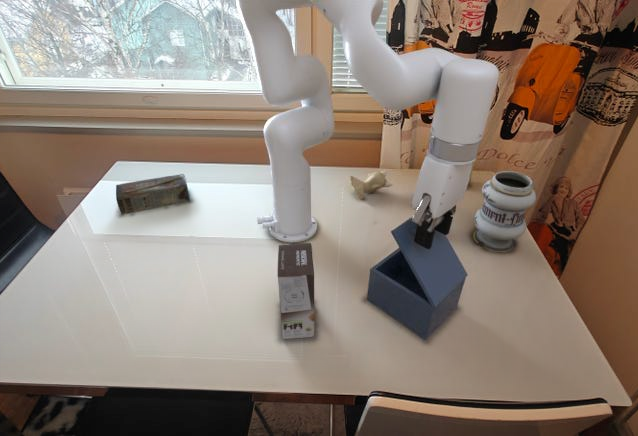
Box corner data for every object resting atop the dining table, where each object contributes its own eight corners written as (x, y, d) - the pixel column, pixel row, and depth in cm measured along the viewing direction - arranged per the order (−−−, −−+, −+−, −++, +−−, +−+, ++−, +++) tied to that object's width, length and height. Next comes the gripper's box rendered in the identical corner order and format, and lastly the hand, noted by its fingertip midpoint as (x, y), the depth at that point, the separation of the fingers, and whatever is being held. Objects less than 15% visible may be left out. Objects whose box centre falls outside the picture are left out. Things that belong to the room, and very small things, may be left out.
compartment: (366, 299, 82) (369, 268, 77) (399, 273, 89) (404, 243, 84) (425, 340, 74) (433, 308, 69) (456, 308, 80) (466, 277, 75)
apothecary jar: (459, 237, 100) (475, 176, 90) (486, 221, 106) (504, 162, 96) (501, 261, 92) (524, 197, 82) (528, 243, 98) (552, 181, 88)
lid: (390, 231, 69) (411, 223, 64) (426, 206, 75) (447, 197, 71) (432, 307, 69) (456, 304, 64) (464, 275, 75) (488, 271, 71)
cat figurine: (346, 173, 116) (383, 159, 116) (349, 188, 122) (384, 175, 122) (355, 193, 111) (394, 178, 112) (358, 207, 117) (395, 193, 117)
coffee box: (315, 337, 74) (315, 275, 65) (282, 339, 74) (277, 277, 65) (312, 301, 82) (311, 242, 72) (281, 303, 81) (277, 243, 72)
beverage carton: (191, 202, 114) (187, 182, 110) (120, 217, 107) (113, 196, 104) (187, 189, 120) (183, 170, 116) (120, 203, 113) (113, 183, 110)
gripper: (459, 124, 67) (438, 211, 77) (400, 154, 57) (386, 249, 67) (501, 137, 62) (473, 228, 73) (445, 172, 53) (422, 270, 63)
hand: (431, 237), depth 70 cm, fingers closed on lid, 5 cm apart
